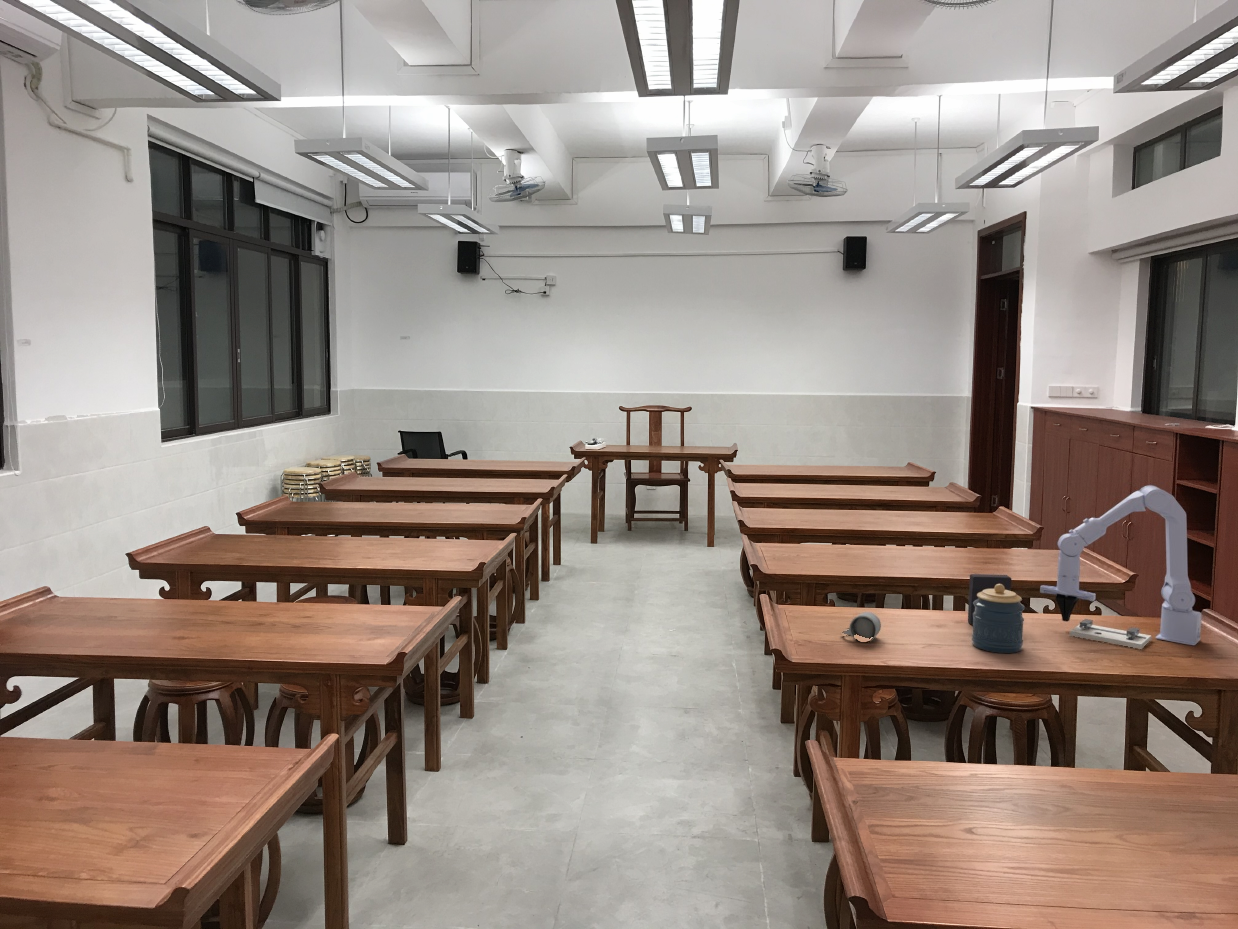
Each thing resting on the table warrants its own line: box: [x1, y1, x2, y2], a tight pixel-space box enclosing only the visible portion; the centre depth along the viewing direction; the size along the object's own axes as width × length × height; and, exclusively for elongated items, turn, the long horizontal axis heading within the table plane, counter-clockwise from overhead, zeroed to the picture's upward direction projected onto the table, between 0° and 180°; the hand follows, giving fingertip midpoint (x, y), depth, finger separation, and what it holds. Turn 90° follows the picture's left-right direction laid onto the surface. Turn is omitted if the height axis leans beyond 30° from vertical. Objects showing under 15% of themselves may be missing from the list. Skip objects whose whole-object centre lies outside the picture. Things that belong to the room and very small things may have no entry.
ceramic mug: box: [842, 611, 882, 642], centre depth 248 cm, size 11×8×8 cm
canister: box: [971, 584, 1026, 654], centre depth 240 cm, size 13×13×18 cm
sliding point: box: [1079, 618, 1094, 629], centre depth 253 cm, size 2×6×2 cm, turn 136°
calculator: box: [967, 573, 1012, 626], centre depth 262 cm, size 11×4×15 cm, turn 84°
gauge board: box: [1069, 624, 1152, 650], centre depth 249 cm, size 18×11×2 cm, turn 46°
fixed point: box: [1126, 626, 1140, 638], centre depth 245 cm, size 2×6×2 cm, turn 136°
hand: (1065, 620), depth 257 cm, fingers closed
